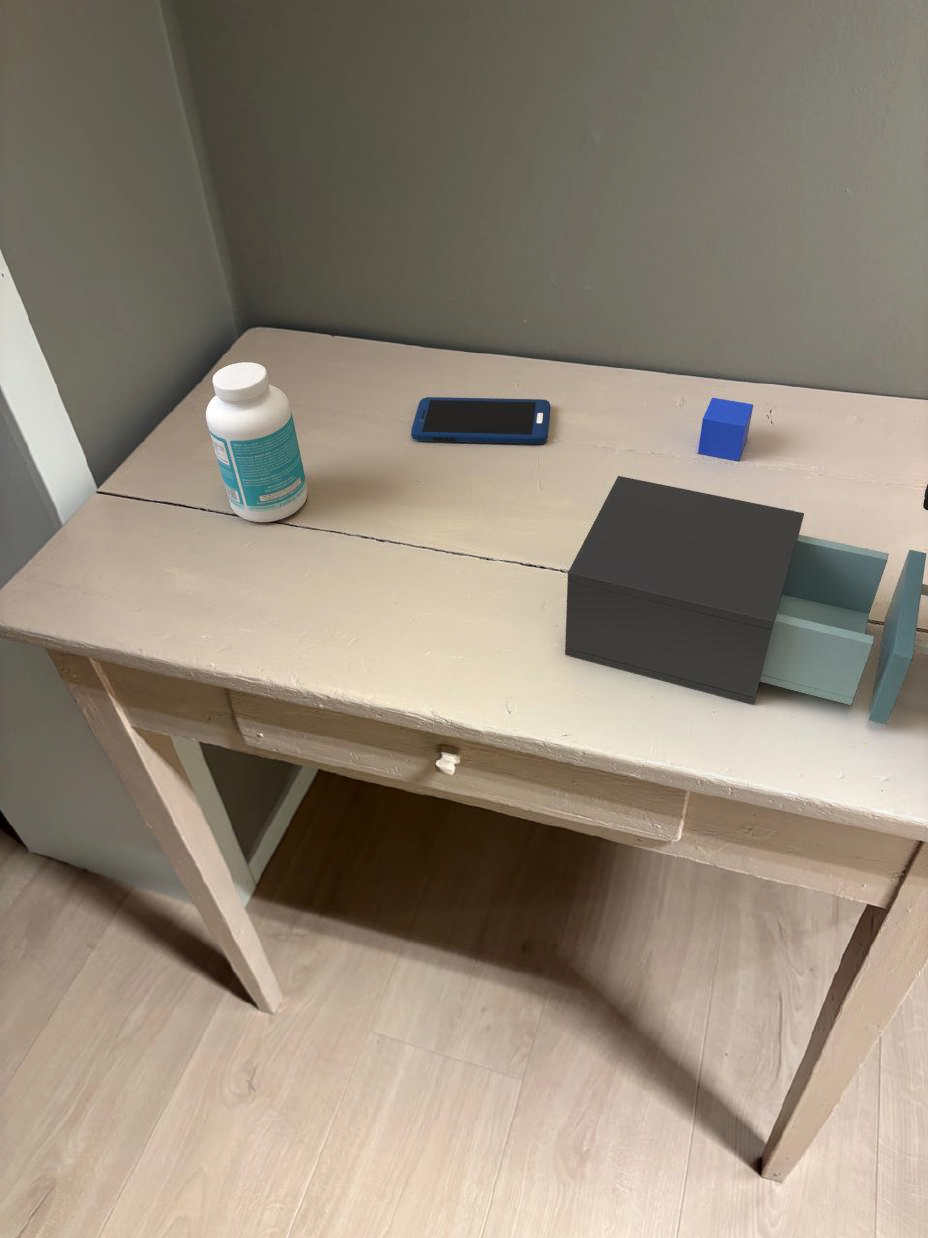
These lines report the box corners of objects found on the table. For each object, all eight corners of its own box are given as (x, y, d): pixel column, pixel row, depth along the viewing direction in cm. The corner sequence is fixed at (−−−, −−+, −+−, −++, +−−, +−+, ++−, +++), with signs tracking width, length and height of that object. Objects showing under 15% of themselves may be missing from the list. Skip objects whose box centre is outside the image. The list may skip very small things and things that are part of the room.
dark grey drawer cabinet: (783, 596, 79) (804, 512, 73) (753, 705, 70) (774, 621, 64) (611, 556, 83) (618, 475, 77) (564, 655, 75) (567, 572, 69)
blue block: (747, 439, 95) (753, 404, 92) (738, 461, 92) (745, 425, 90) (706, 432, 96) (712, 397, 93) (697, 453, 94) (702, 418, 91)
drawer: (970, 635, 73) (1000, 567, 69) (962, 745, 66) (995, 678, 61) (728, 579, 79) (740, 514, 74) (695, 675, 72) (706, 609, 67)
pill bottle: (322, 485, 93) (298, 359, 83) (287, 532, 88) (258, 403, 78) (253, 473, 95) (223, 349, 85) (216, 518, 90) (179, 391, 80)
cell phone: (547, 444, 96) (547, 438, 95) (409, 441, 97) (409, 434, 97) (551, 405, 101) (551, 398, 100) (420, 402, 103) (420, 396, 102)
